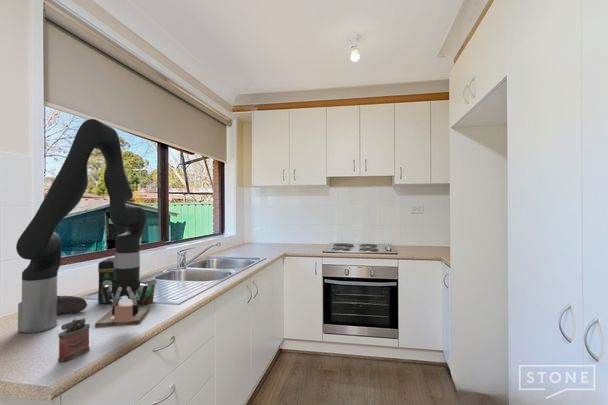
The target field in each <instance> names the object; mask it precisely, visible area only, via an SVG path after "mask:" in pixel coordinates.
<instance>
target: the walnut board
mask: <svg viewBox="0 0 608 405" xmlns="http://www.w3.org/2000/svg"><path fill="white" fill-rule="evenodd" d="M150 308H151V307H150V306H147V307H146V306H145V307H139V312H138V314H137V315H136V316H135V318H134V319H133V320H132V321H129V322H114V316H113V315H112V309H109V311H107V313H105V314H104V315H103V316H102V317H100V318H99V319H98V320H97V321H96V322H95V323H94V327H95V328H98V327H99V328H100V327H111V326H125V325H126V326H127V325H135V324H136V325H137V324H140V323H141V322H142V321H143V320H144V318H145V317H146V316H147V314H148V313H149V312H150V310H151V309H150ZM142 319H143V320H142Z"/></svg>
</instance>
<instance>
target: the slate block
mask: <svg viewBox="0 0 608 405" xmlns="http://www.w3.org/2000/svg"><path fill="white" fill-rule="evenodd" d="M120 302H132V300H131V299H128V298H122V299H121V298H120V300H119V302H118V304H119V303H120Z"/></svg>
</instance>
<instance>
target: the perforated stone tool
mask: <svg viewBox="0 0 608 405" xmlns="http://www.w3.org/2000/svg"><path fill="white" fill-rule="evenodd" d="M87 306H88V303H87V301H86V300H85V299H84V298H82V297H80V296H75V295H57V315H66V314H74V313H79V312H82V311H84V310H86V308H87Z"/></svg>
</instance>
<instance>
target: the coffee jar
mask: <svg viewBox="0 0 608 405" xmlns="http://www.w3.org/2000/svg"><path fill="white" fill-rule="evenodd" d="M114 258H115V257H107V258H106V259H104V260H102V261H100V262H98V263H97V264H98V291H97V292H98V293H97V302H98V304H104V305H107V304H106V302H105V298H104V294H103V290H102V288H103V287H105V286H106V285H112V284H113V282H114ZM111 295H112V299H113V300H114V297H115V295H116V292H115V291H114V289H113V288H112V291H111Z"/></svg>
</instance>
